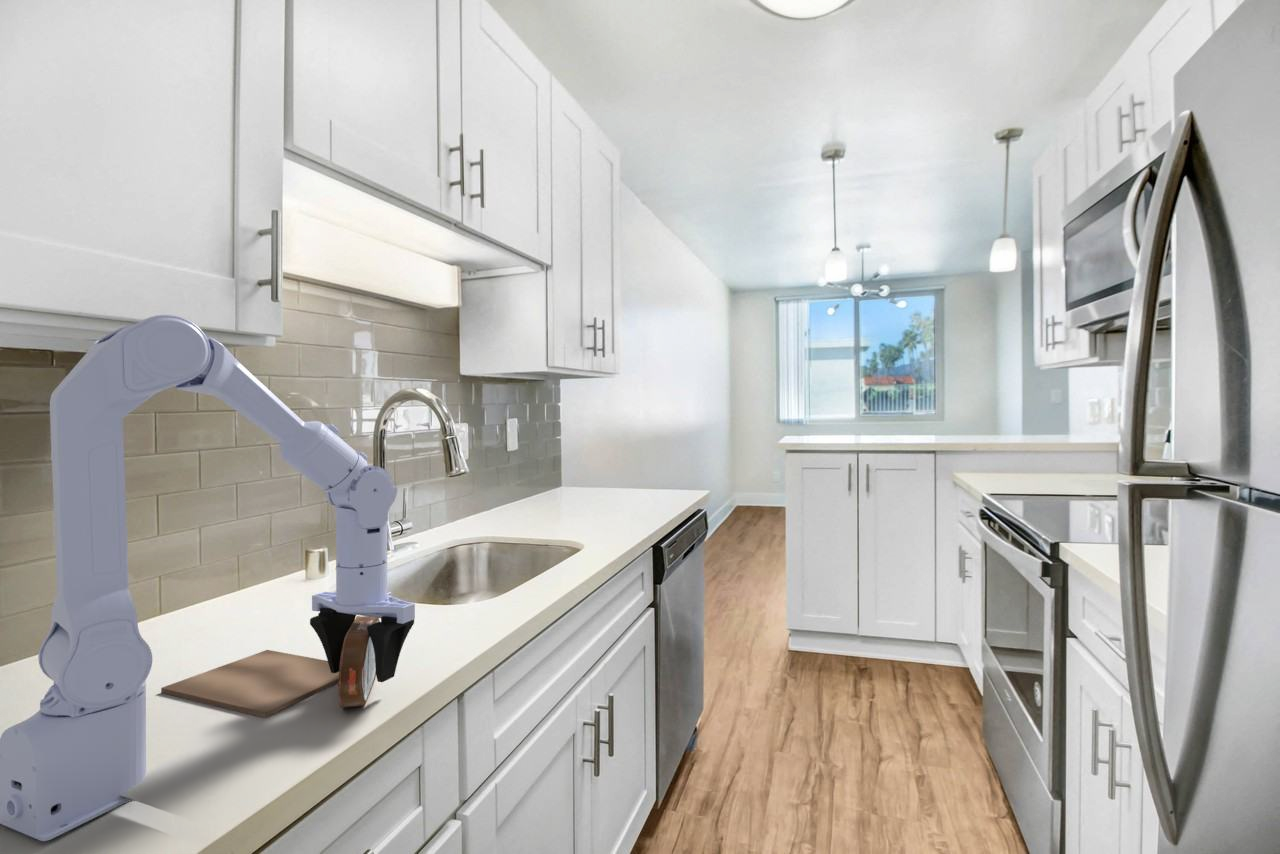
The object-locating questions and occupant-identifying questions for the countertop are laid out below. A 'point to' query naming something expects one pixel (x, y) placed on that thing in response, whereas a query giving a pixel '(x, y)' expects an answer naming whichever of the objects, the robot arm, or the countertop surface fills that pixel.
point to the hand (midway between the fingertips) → (362, 674)
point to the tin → (357, 664)
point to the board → (258, 683)
